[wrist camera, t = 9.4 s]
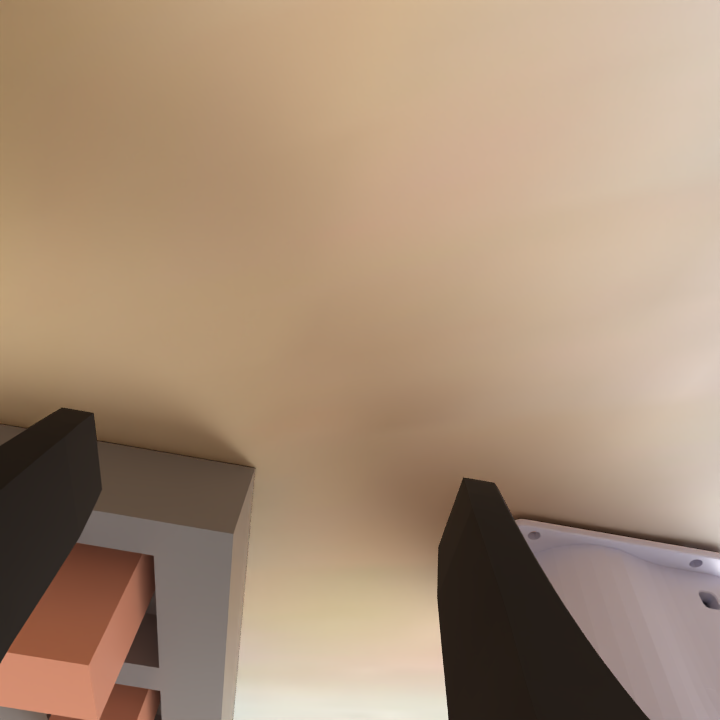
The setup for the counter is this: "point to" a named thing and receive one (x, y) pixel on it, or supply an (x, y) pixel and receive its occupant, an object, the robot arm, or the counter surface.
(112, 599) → the plug
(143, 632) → the dock
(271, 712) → the counter surface
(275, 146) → the counter surface
